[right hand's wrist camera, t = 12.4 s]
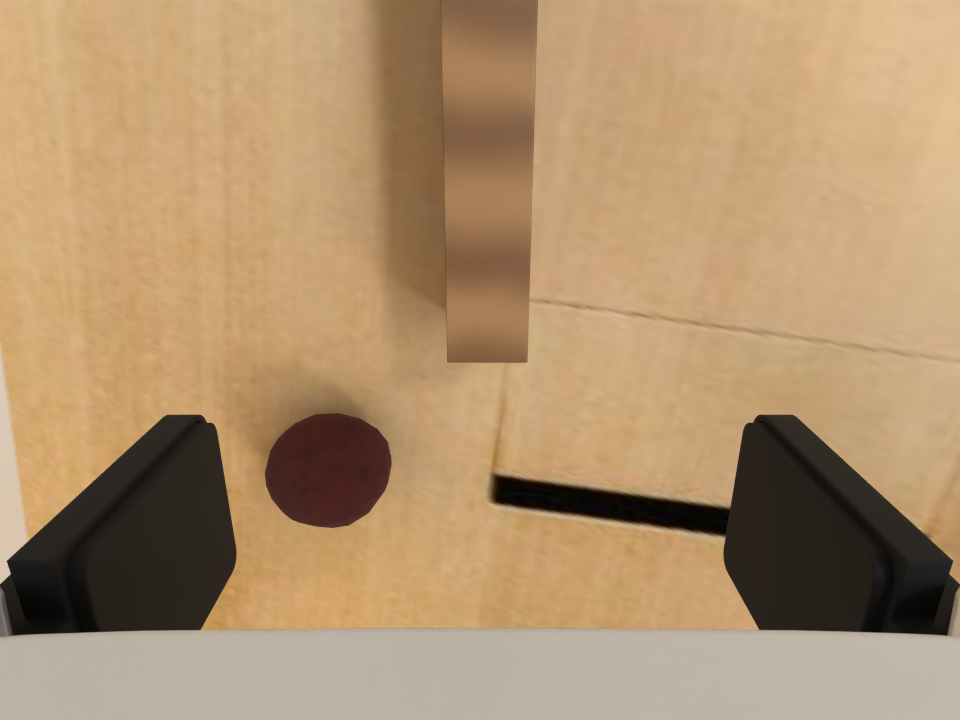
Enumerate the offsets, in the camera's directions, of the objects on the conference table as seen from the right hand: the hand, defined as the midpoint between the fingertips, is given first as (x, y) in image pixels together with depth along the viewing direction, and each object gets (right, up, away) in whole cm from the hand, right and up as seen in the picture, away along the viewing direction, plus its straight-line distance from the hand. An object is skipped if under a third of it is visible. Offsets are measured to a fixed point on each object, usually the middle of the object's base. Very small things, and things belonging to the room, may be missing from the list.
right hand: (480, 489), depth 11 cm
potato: (-9, -3, +32) cm, 34 cm away
